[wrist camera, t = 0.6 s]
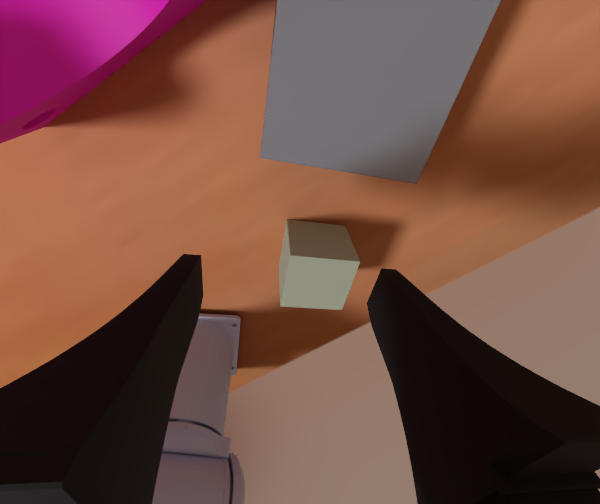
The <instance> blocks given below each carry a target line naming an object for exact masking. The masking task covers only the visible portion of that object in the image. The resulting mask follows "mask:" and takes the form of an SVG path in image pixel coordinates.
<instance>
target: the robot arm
mask: <svg viewBox="0 0 600 504" xmlns="http://www.w3.org/2000/svg"><path fill="white" fill-rule="evenodd" d="M202 298H203V284H202V266H201V255H189V254H183V255H182V256H181V257H180V258H179V259H178V260H177V261H176V262H175V263H174V264H173V265H172V266H171V267H170V268H169V269H168V270H167V271H166V272H165V273H164V274H163V275H162V276H161V277H160V278H159V279H158V280H157V281H156V282H155V283H154V284H153V285H152V286H151V287H150V288H149V289H148V290H147V291H146V292H144V293H143V294H142V295H141V296H140V297H139V298H138V299H136V300H135V301H134V302H133V303H132V304H130V305H129V306H128V307H127V308H126V309H125V310H123V311H122V312H121V313H120V314H118V315H117V316H116V317H114V318H113V319H112V320H111V321H109V322H108V323H107V324H105V325H104V326H102V327H101V328H100V329H98V330H97V331H95V332H94V333H93V334H91V335H90V336H88V337H87V338H85V339H84V340H82V341H81V342H79V343H78V344H76V345H74V346H73V347H71V348H70V349H68V350H67V351H65V352H63V353H62V354H60V355H59V356H57V357H55V358H54V359H52V360H50V361H49V362H47V363H45V364H44V365H42V366H40V367H38V368H37V369H35V370H33V371H31V372H30V373H28V374H26V375H24V376H22V377H21V378H19V379H17V380H15V381H13V382H11V383H10V384H8V385H6V386H4V387H2V388H0V504H244V499H245V482H244V474H243V470H242V468H241V465H240V463H239V460H238V458H237V456H236V455H235V454H233V453H229V450H230V440H231V439H230V438H228V437H223V434H224V426H225V418H226V409H227V402H228V393H229V385H230V377H231V376H232V375H235V374H236V372H237V360H238V347H239V334H240V321H241V318H240V317H239V316H237V315H221V314H202V313H200V308H201V303H202ZM367 306H368V311H369V316H370V320H371V324H372V328H373V331H374V333H375V336H376V339H377V342H378V344H379V347H380V350H381V352H382V355H383V358H384V361H385V363H386V366H387V369H388V371H389V374H390V377H391V380H392V383H393V386H394V390H395V394H396V398H397V401H398V406H399V409H400V413H401V418H402V422H403V427H404V431H405V435H406V440H407V445H408V450H409V455H410V460H411V465H412V471H413V477H414V483H415V489H416V496H417V502H418V504H600V492H599V490H598V489H599V488H600V478H599V477H598V476H597V474H596V473H595V472H594V471H596V470H598V469H600V406H598V405H596V404H594V403H592V402H590V401H588V400H586V399H584V398H582V397H580V396H578V395H576V394H574V393H572V392H570V391H567V390H565V389H563V388H561V387H560V386H558V385H556V384H554V383H552V382H550V381H548V380H546V379H545V378H543V377H541V376H539V375H537V374H535V373H534V372H532V371H530V370H528V369H527V368H525V367H523V366H521V365H520V364H518V363H516V362H515V361H513V360H511V359H510V358H508V357H507V356H505V355H503V354H502V353H500V352H499V351H497V350H496V349H494V348H492V347H491V346H489V345H488V344H487V343H485V342H484V341H482V340H481V339H479V338H478V337H477V336H475V335H474V334H472V333H471V332H469V331H468V330H467V329H465V328H464V327H463V326H461V325H460V324H459V323H458V322H456V321H455V320H454V319H453V318H451V317H450V316H449V315H448V314H446V313H445V312H444V311H442V309H440V308H439V307H438V306H437V305H436V304H435V303H433V302H432V301H431V300H430V299H429V298H427V296H425V295H424V294H423V293H422V292H421V291H420V290H419V289H418V288H416V287H415V286H414V285H413V284H412V283H411V282H410V281H408V280H407V279H406V278H405V277H404V276H403V275H401V274H400V273H399V272H398V271H396V270H394V269H381V271H380V274H379V276H378V278H377V281H376V283H375V285H374V288H373V290H372V293H371V295H370V297H369V300H368V302H367Z"/></svg>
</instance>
